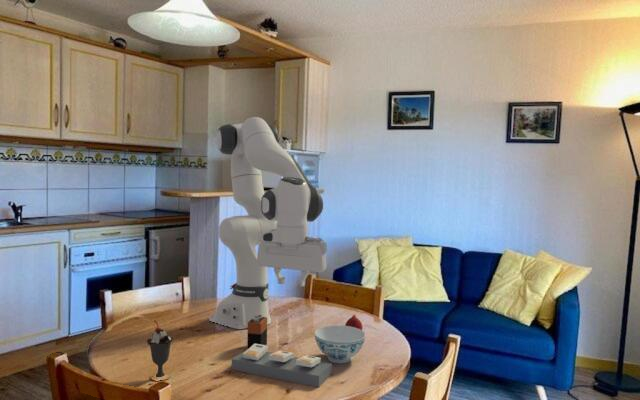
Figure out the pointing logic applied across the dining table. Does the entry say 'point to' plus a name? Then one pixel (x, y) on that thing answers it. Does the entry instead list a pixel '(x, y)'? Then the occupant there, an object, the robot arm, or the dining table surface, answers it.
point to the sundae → (160, 348)
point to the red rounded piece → (354, 322)
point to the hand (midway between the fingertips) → (291, 284)
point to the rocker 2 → (281, 356)
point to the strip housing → (284, 369)
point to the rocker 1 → (255, 351)
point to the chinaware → (339, 342)
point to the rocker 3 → (308, 361)
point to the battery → (257, 331)
